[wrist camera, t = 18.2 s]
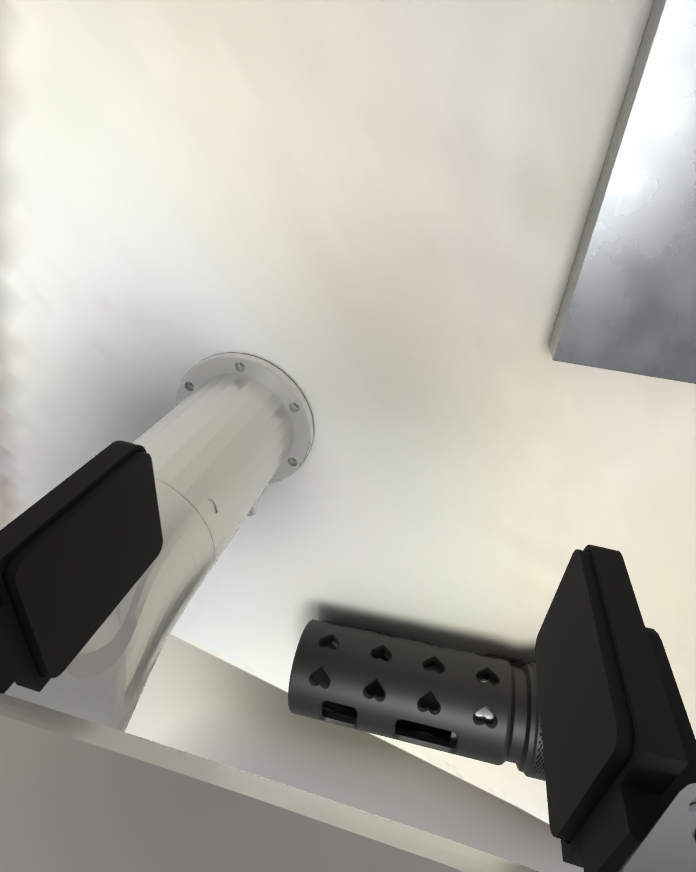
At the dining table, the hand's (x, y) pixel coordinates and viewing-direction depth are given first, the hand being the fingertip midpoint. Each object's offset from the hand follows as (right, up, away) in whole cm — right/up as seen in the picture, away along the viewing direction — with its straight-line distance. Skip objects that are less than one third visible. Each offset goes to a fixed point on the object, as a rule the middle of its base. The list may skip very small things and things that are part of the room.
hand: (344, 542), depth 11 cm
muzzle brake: (+10, -20, +43) cm, 48 cm away
